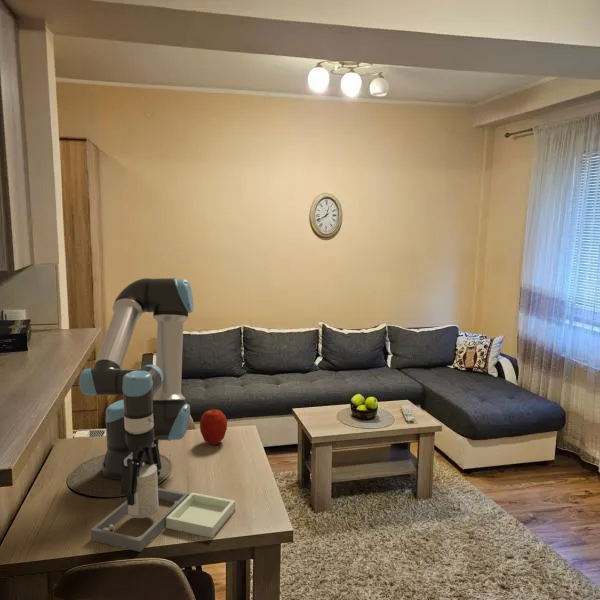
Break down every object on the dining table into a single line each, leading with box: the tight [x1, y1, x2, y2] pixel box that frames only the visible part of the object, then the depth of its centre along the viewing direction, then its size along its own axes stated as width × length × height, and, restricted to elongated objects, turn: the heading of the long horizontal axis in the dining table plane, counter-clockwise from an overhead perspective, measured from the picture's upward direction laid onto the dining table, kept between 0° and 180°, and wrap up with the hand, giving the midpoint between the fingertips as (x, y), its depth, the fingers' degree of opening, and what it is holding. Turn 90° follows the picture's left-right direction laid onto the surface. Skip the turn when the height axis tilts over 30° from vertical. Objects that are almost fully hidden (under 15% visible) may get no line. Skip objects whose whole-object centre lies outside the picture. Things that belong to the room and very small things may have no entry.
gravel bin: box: [90, 487, 190, 553], centre depth 144 cm, size 15×24×3 cm, turn 162°
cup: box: [127, 463, 160, 519], centre depth 143 cm, size 8×8×12 cm
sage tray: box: [165, 492, 236, 539], centre depth 145 cm, size 14×14×3 cm
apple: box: [199, 408, 228, 446], centre depth 193 cm, size 10×10×14 cm
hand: (143, 505), depth 144 cm, fingers closed on cup, 8 cm apart
